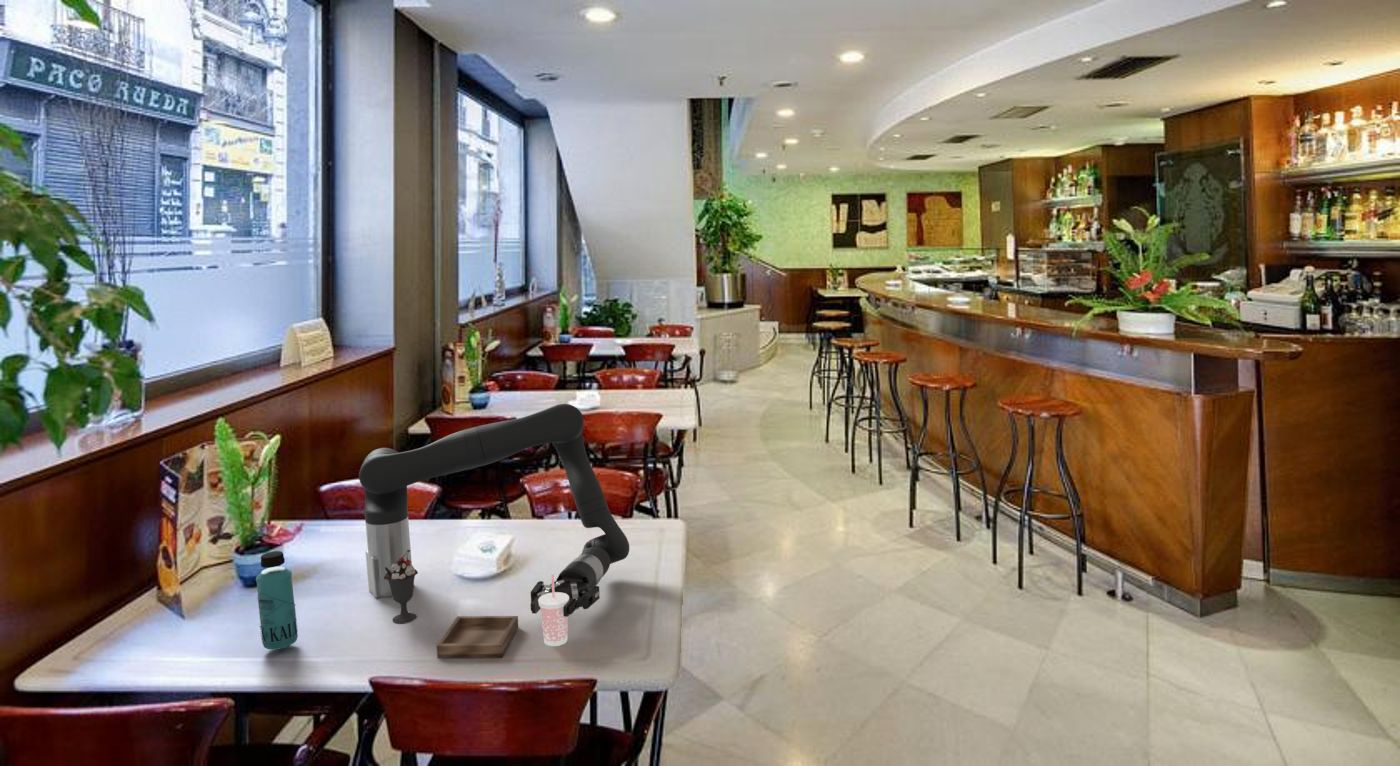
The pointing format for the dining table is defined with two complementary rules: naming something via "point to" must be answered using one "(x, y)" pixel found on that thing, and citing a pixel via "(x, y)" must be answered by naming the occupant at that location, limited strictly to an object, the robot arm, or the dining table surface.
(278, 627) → the beverage bottle
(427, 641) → the dining table surface
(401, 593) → the sundae
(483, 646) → the walnut tray
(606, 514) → the robot arm
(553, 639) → the beverage cup
